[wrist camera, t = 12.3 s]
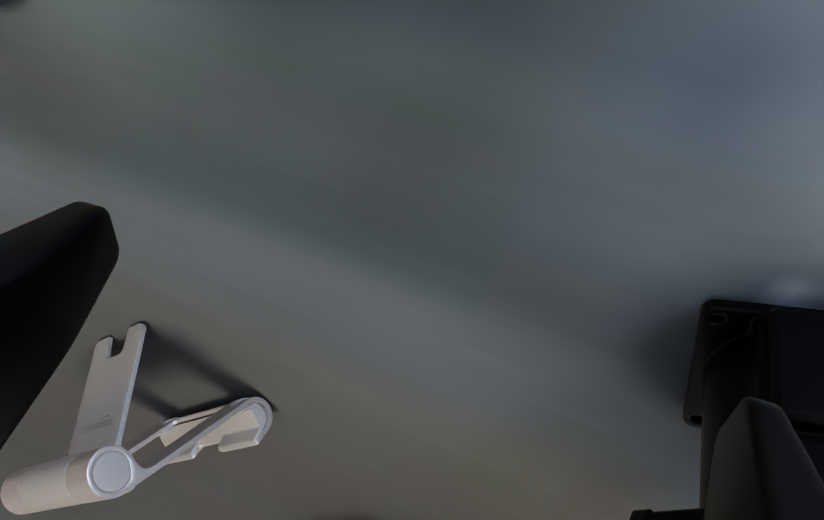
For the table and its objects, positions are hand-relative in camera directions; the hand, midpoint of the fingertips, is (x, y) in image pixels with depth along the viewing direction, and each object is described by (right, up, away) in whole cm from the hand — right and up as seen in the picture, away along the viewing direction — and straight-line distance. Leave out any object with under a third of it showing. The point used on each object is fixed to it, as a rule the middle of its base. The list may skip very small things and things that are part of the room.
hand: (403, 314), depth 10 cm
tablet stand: (-12, -5, +28) cm, 31 cm away
